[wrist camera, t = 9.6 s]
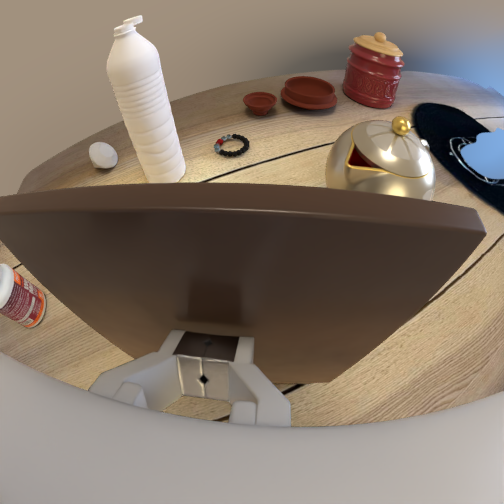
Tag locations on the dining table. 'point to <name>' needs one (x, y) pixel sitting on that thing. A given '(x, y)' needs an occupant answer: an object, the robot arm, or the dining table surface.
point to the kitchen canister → (373, 71)
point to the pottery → (295, 95)
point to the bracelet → (225, 153)
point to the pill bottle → (20, 298)
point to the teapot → (382, 160)
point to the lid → (242, 264)
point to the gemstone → (103, 155)
